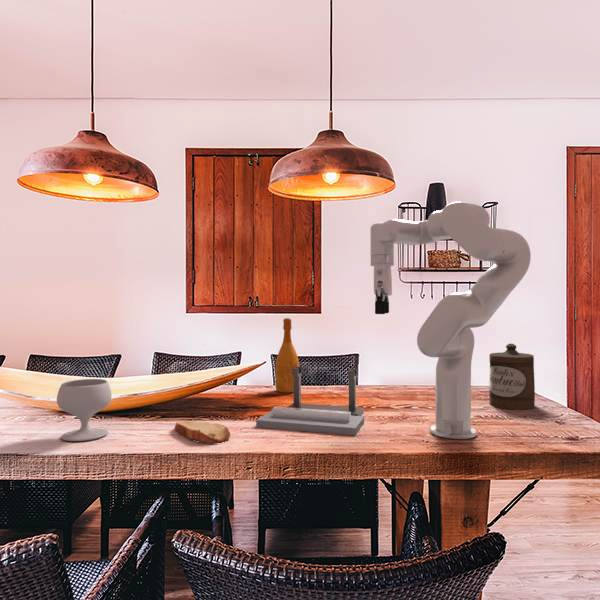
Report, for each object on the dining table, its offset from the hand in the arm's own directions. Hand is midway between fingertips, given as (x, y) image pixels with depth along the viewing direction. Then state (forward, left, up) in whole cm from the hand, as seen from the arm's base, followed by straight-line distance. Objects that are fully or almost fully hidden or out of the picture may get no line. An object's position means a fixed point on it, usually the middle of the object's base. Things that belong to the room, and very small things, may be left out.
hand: (382, 313), depth 160 cm
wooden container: (+28, -42, -34) cm, 61 cm away
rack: (-3, +19, -33) cm, 38 cm away
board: (-19, +19, -33) cm, 43 cm away
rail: (-19, +19, -31) cm, 41 cm away
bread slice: (-38, +46, -34) cm, 69 cm away
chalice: (-49, +76, -34) cm, 96 cm away
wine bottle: (+29, +43, -34) cm, 62 cm away
